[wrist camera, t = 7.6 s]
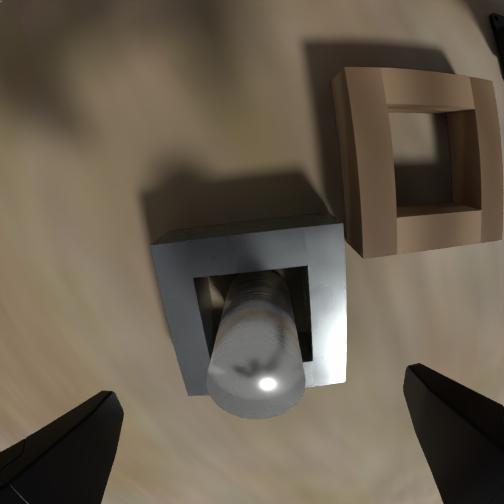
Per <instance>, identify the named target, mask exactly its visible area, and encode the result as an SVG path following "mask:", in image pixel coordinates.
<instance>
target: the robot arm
mask: <svg viewBox="0 0 504 504" xmlns="http://www.w3.org/2000/svg"><path fill="white" fill-rule="evenodd" d="M489 18H490V22H491V25H492V28H493V31H494V35H495V38H496V42H497V45H498V49H499V53H500V57H501V61H502V65H503V70H504V16H501V15H499V14H496V13H492V14H490V15H489ZM403 392H404V396H405V399H406V402H407V406H408V409H409V412H410V416H411V419H412V423H413V426H414V429H415V433H416V435H417V438H418V440H419V443H420V445H421V447H422V450H423V452H424V455H425V457H426V460H427V462H428V464H429V467H430V469H431V472H432V475H433V477H434V480H435V482H436V485H437V487H438V490H439V493H440V495H441V498H442V501H443V503H444V504H504V407H503V405H501V404H499V403H497V402H495V401H493V400H491V399H489V398H487V397H485V396H483V395H481V394H479V393H477V392H475V391H473V390H471V389H469V388H467V387H465V386H464V385H462V384H460V383H458V382H456V381H454V380H452V379H450V378H448V377H446V376H444V375H442V374H440V373H438V372H436V371H434V370H432V369H430V368H428V367H426V366H425V365H423V364H420V363H417V364H413V365H409V366H408V367H407V368H406V372H405V379H404V385H403ZM123 417H124V412H123V408H122V406H121V404H120V402H119V400H118V398H117V396H116V394H115V393H114V392H113V391H101V392H99V393H98V394H96V395H94V396H93V397H91V398H90V399H88V400H87V401H85V402H83V403H82V404H80V405H79V406H77V407H75V408H74V409H72V410H71V411H69V412H67V413H66V414H64V415H63V416H61V417H59V418H58V419H56V420H54V421H53V422H51V423H50V424H48V425H46V426H45V427H43V428H41V429H40V430H38V431H36V432H35V433H33V434H31V435H30V436H28V437H26V439H23V440H21V441H20V442H18V443H16V444H15V445H13V446H11V447H9V448H7V449H5V450H3V451H1V452H0V504H101V502H102V498H103V495H104V491H105V488H106V485H107V481H108V478H109V475H110V472H111V468H112V465H113V462H114V459H115V455H116V451H117V447H118V442H119V437H120V432H121V427H122V422H123Z"/></svg>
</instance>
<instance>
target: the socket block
mask: <svg viewBox="0 0 504 504" xmlns="http://www.w3.org/2000/svg"><path fill="white" fill-rule="evenodd" d="M330 84H331V90H332V96H333V103H334V110H335V117H336V125H337V133H338V141H339V150H340V159H341V169H342V179H343V191H344V203H345V217H346V234H347V243H348V244H349V245H350V246H351V247H352V248H353V249H354V250H355V251H356V252H357V253H358V254H359V255H360V256H361V257H362V258H363V259H365V258H373V257H381V256H388V255H396V254H404V253H411V252H419V251H426V250H434V249H441V248H448V247H456V246H463V245H470V244H477V243H484V242H490V241H497V240H502V229H503V164H502V149H501V137H500V128H499V119H498V112H497V105H496V99H495V93H494V87H493V82H492V81H490V80H485V79H480V78H474V77H468V76H462V75H455V74H448V73H441V72H432V71H423V70H412V69H398V68H379V67H344V68H343V69H342V70H341V71H340V72H339V73H338V74H337V75H336V77H335V78H334V79H333V80H332V81H331V82H330ZM388 112H404V113H432V114H446V119H447V127H448V136H449V147H450V159H451V175H452V202H444V203H430V204H417V205H405V206H396V189H395V174H394V162H393V151H392V141H391V132H390V124H389V117H388Z"/></svg>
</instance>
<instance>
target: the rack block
mask: <svg viewBox="0 0 504 504" xmlns="http://www.w3.org/2000/svg"><path fill="white" fill-rule="evenodd" d="M150 247H151V252H152V257H153V262H154V266H155V271H156V276H157V280H158V285H159V289H160V293H161V298H162V302H163V306H164V310H165V314H166V318H167V322H168V326H169V330H170V334H171V338H172V341H173V345H174V349H175V352H176V356H177V359H178V363H179V366H180V370H181V373H182V377H183V380H184V383H185V387H186V390H187V393H188V396H197V395H210V394H209V392H208V389H207V384H206V378H207V373H208V369H209V365H210V361H211V357H212V352H213V348H214V344H215V340H216V336H217V327H216V322H215V317H214V312H213V306H212V301H211V296H210V290H209V285H208V279H207V276H216V275H225V274H235V273H244V272H253V271H263V270H272V269H280V268H289V267H298V266H302V278H303V292H304V306H305V321H306V333H298V334H297V336H298V341H299V346H300V351H301V357H302V362H303V367H304V373H305V379H306V385H305V388H306V387H314V386H321V385H328V384H335V383H341V382H345V375H346V268H345V245H344V227H343V223H342V222H341V221H340V220H339V219H337V218H336V217H335V216H333V215H332V214H331V213H319V214H309V215H300V216H290V217H281V218H272V219H264V220H255V221H247V222H238V223H230V224H222V225H214V226H206V227H198V228H191V229H183V230H176V231H168V232H167V233H166V234H164V235H163V236H162V237H160V238H159V239H158V240H157V241H155V242H154V243H153V244H152V245H150Z"/></svg>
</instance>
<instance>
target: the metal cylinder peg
mask: <svg viewBox="0 0 504 504" xmlns="http://www.w3.org/2000/svg"><path fill="white" fill-rule="evenodd" d="M206 384H207V389H208V392H209V394H210V396H211V398H212V399H213V400H214V402H215V403H216V404H217V405H218V406H219V407H221V408H222V409H223V410H225V411H227V412H228V413H231V414H233V415H235V416H238V417H242V418H248V419H265V418H271V417H275V416H278V415H280V414H282V413H284V412H286V411H288V410H289V409H291V408H292V407H293V406H294V405H295V404H297V402H298V401H299V400H300V398H301V397H302V395H303V393H304V390H305V385H306V379H305V373H304V367H303V362H302V357H301V351H300V346H299V341H298V336H297V331H296V326H295V320H294V315H293V310H292V305H291V300H290V295H289V290H288V287H287V285H286V283H285V281H284V280H283V279H282V278H281V277H280V276H279V275H278V274H277V273H275V272H273V271H271V270H263V271H253V272H244V273H240V274H238V275H237V276H236V277H235V278H234V279H233V280H232V282H231V284H230V286H229V288H228V292H227V296H226V300H225V304H224V308H223V312H222V316H221V320H220V324H219V328H218V332H217V336H216V340H215V344H214V348H213V352H212V357H211V361H210V365H209V369H208V373H207V378H206Z"/></svg>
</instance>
